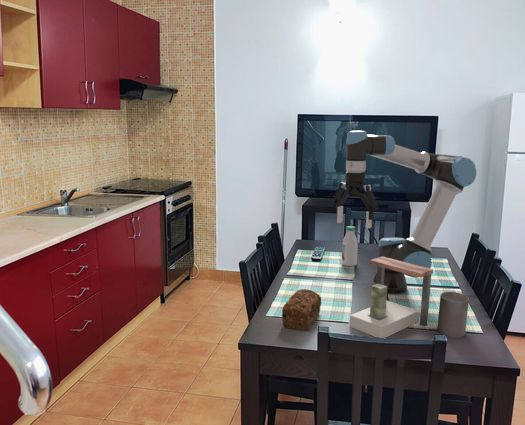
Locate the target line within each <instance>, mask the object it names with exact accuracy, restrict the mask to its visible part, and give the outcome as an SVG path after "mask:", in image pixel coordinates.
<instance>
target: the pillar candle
mask: <svg viewBox="0 0 525 425" xmlns="http://www.w3.org/2000/svg"><path fill="white" fill-rule="evenodd" d="M469 301H470V298H469V296H467V295H466V294H463V293H461V292H456V291H446V292H445V291H444V292H442V293H441V294H440V297H439V307H438V317H437V325H436V326H437V327H436V331H437V333H438V334H439V335H441V334H443V335H445V336H444V337H446V336H447V337H446V338H451V339H461V338H464V336H465V335H466V330H467V322H468V321H467V320H468V311H469V310H468V309H469V303H470V302H469ZM443 335H442V336H443Z"/></svg>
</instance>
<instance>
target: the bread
mask: <svg viewBox="0 0 525 425" xmlns="http://www.w3.org/2000/svg"><path fill="white" fill-rule="evenodd" d="M321 306H322V297H321V295H320V294H318V293H317V292H316V291H313V290H312V289H306V288H304V289H303V288H302V289H298V290H297V291H295V292H294V293H293V294H292V295H291V296H290V298H289V299H288V300H287V301H286V302H285V303H284V304H283V307H282V308H281V309H282V310H281V316H282V318H281V321H282V326H283V327H284V328H288V329H290V330H291V329H296V330H299V331H304V332H308V331H309V329H310V328H311V327H312V326H313V324H314V322H315V321H316V319H317V318H318V317H319V315H320V312H321Z"/></svg>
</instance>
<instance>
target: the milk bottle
mask: <svg viewBox="0 0 525 425" xmlns="http://www.w3.org/2000/svg"><path fill="white" fill-rule="evenodd" d="M345 231H346V232H345V235H344V238H343V240H342V243H341V244H342V249H341V265H342V266H345V267H355V266H357V262H358V239H357V237H356V234H355V232H356V226H352V225H348V226H347V225H346V226H345Z"/></svg>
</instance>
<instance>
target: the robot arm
mask: <svg viewBox="0 0 525 425" xmlns="http://www.w3.org/2000/svg"><path fill="white" fill-rule="evenodd" d="M345 144H346V146H345V147H346V152H345V153H346V154H345V157H346V158H345V171H346V172H345V181H341V182H338V188H337V189H336V190H337V191H336V193H335V194H334V197H333V199H332V202H331V204H332V205H334V206H335V214H336V215H337V216H336V218H337V219H336V223H337V224H341V223H343V222H344V220H343V219H344V205H343V204H344V202H346V201H347V199H348V198H349V196H354V197H355V196H356V197H357V196H358V197H359V198H360V201H361V202H362V203H363V204H364V206H365V207H366V209H367V211H366V212H365V213H366V216H365V217H366V218H365V229H370V228H371V229H372V223H373V220H374V217H375V216H374V215H375V214H374V213H375V211H379V205H378V202H377V199H376V197H375V194H374V191H373V185H372V184H368V185H366V184H365V183H366V182H365V181H366V170H367V169H366V168H367V156H370V157H374V158H378V159H381V160H382V161H387V162H390V163H393V164H396V165H399V166H403V167H405V168H409V169H412V170H414V171H415V172H416V173H417V174H421V175H423V176H425V177H428V178H430V179H432V180H434V183H435V186H436V187H435V189H434V191H433V192H432V195H431V197H430V198H429V201H428V202H427V204H426V206H425V208H424V211H423V212H422V215H421V216H420V218H419V220H418V221H417V224H416V226H415V227H414V228H415V229H414V230H413V232H412V234H411V236H410V237H407V238H404V237H382V238H380V240H378V247H377V248H378V250H377V251H378V252H377V253H378V254H377V258H379V257H382V256H383V257H387V258H391V259H395V260H398V261H402V262H406V263H410V264H414V265H418V266H422V267H426V268H430V269H432V265H433V264H432V257H431V254H432V244H433V241H434V239H435V237H436V235H437V234H438V231H439V230H440V227H441V225H442V223H443V222H444V220H445V218H446V216H447V214H448V212H449V210H450V207H451V206H452V204H453V201H455V200H454V199H455V198H456V196H457V195H459V194H461V193H463V190H464V188H465V187H469V186H470V185H473V183H474V181H476V177H477V168H476V165H475V163H474V161H473V160H472V159H470V158H469V157H464V156H462V155H460V156H459V155H451V154H444V153H443V154H439V153H438V154H437V153H430V152H427V151H422V152H419V151H417V150H413V149H410V148H407V147H404V146H401V145H398V144H396V141H395V138H394V137H393V136H391V135H386V134H383V135H382V134H381V135H378V134H376V135H375V134H368V132H367V131H366V130H349V131H348V132H347V133H346V142H345ZM345 189H346V190H345ZM406 277H410V278H413V279H417V278H419V277H416V276H413V275H409V274H405V273H402V272H398V271H394V270H391V269H387V268H385V272H384V285H385V286H387V294H389V295H390V294H393V295H394V294H395V295H396V294H403V293H406V292H407V290H408V284H407V283H408V282H407V278H406ZM375 284H377V271H376V273H375V275H374V277H373V280H372V285H375ZM372 285H371V286H372Z"/></svg>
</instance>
